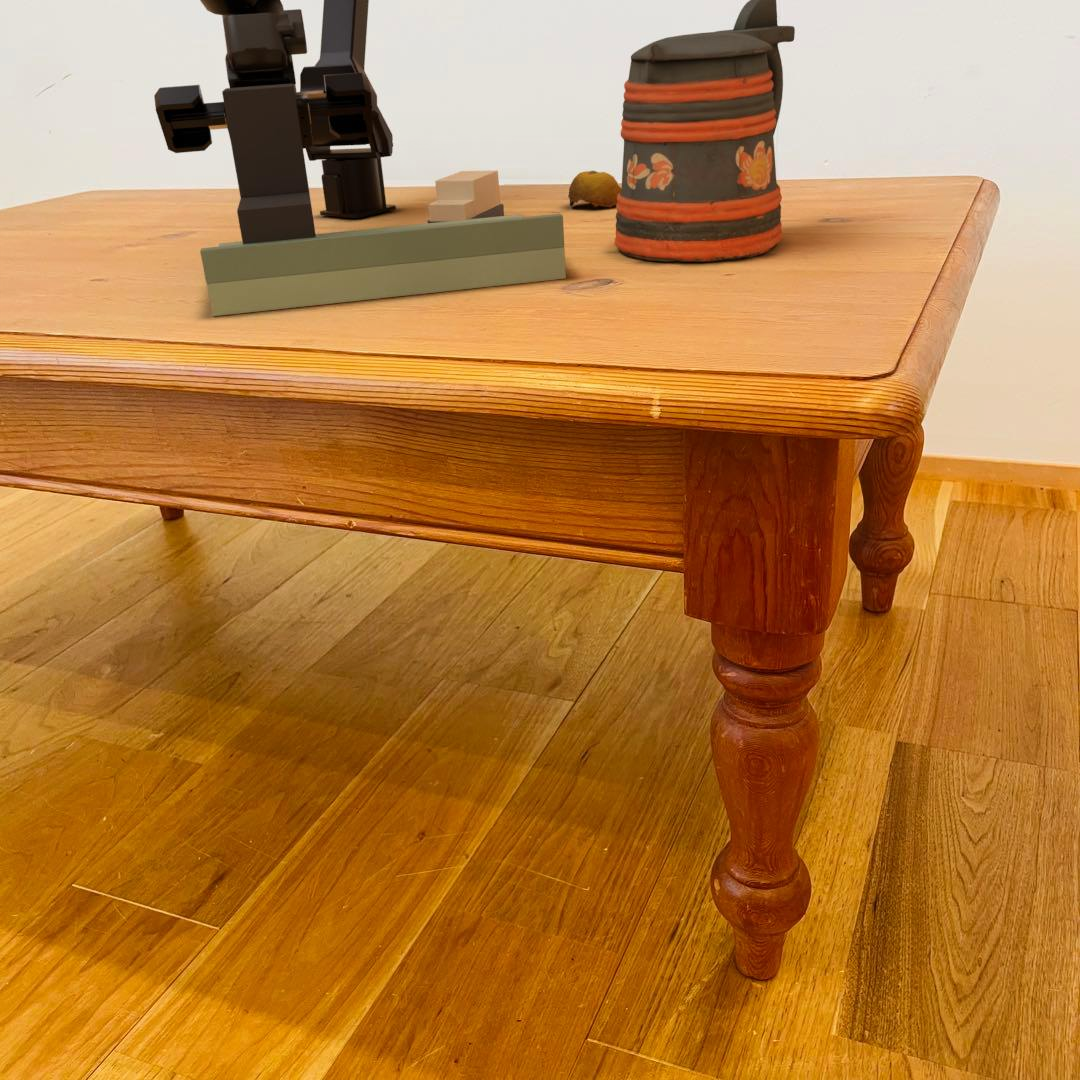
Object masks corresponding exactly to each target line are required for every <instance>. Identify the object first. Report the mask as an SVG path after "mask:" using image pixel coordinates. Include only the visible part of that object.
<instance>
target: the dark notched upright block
mask: <svg viewBox="0 0 1080 1080" xmlns="http://www.w3.org/2000/svg"><path fill="white" fill-rule="evenodd" d="M221 94H222V100H223V102H224V106H225V111H226V117H227V123H228V128H229V132H228V135H229V134H230V136H229V140H230V145H231V151H232V156H233V157H232V158H233V162H234V168H235V174H236V180H237V185H238V186H237V187H238V191H239V197H240V199H239V203H238V206H237V210H236V213H237V220H238V224H239V230H240V235H241V241H242V242H243V244H251V243H261V242H271V241H282V240H292V239H302V238H313V237H316V234H317V233H316V229H315V228H316V227H315V221H314V213H313V207H312V201H311V194H310V187H309V180H308V175H307V166H306V161H305V153H304V149H303V146H302V139H301V132H300V125H299V119H298V112H297V105H296V98H295V91H294V85H293V84H279V85H265V86H252V87H238V88H230V87H226V88H225V89H223V90H222V91H221Z"/></svg>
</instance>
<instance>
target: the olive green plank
mask: <svg viewBox="0 0 1080 1080" xmlns="http://www.w3.org/2000/svg"><path fill="white" fill-rule="evenodd" d="M564 230H565V228H564V215H563V214H562V213H552V214H550V213H549V214H540V215H529V216H523V215H522V214H521V213H520V214H509V215H504V216H499V217H488V218H478V219H468V220H457V221H447V222H437V223H427V222H426V223H418V224H416V223H415V224H408V225H407V224H406V225H398V226H397V225H396V226H387V227H386V226H385V227H377V228H376V227H374V228H365V229H355V230H346V231H345V230H344V231H335V232H333V231H332V232H324V233H323V232H322V233H315V234H316V237H313V238H302V239H292V240H282V241H271V242H261V243H251V244H243V242H242V240H240V241H232V242H231V241H230V242H220V243H219V244H218V246H212V247H211V246H210V247H202V248H200V251H199V253H200V257H201V264H202V268H203V272H204V273H203V274H204V277H205V278H204V279H205V283H206V288H207V293H208V299H209V303H210V304H209V305H210V309H211V314H212V317H219V316H221V317H222V316H229V315H236V314H237V315H238V314H239V315H240V314H247V313H256V312H265V311H266V312H267V311H276V310H285V309H294V308H305V307H313V306H324V305H331V304H340V303H350V302H360V301H369V300H377V299H378V300H379V299H386V298H387V299H388V298H397V297H406V296H416V295H424V294H425V295H426V294H434V293H443V292H452V291H453V292H454V291H460V290H461V291H463V290H470V289H471V290H472V289H480V288H489V287H498V286H506V285H507V286H508V285H518V284H526V283H535V282H536V283H537V282H545V281H555V280H563V279H564V280H566V279H567V273H566V270H567V269H566V252H565V251H566V250H565V231H564Z"/></svg>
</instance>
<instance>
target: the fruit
mask: <svg viewBox="0 0 1080 1080" xmlns="http://www.w3.org/2000/svg"><path fill="white" fill-rule="evenodd" d="M621 188H622V186H621V185H619V184H618V181H617V180H616V179H615V177H614V176H613V175H611V174H610V173H608V172H605V171H601V172H599V171H596V170H588V171H587V170H586V171H581V172H579V173H578V174H577V175H576V176H574V178H573V179H572V181H571V183H570V186H569V189H568V195H567V196H568V200H569V206H570V207H573V206H574V204H579V203H578V202H580V201H583V202H586V203H591V205H592V206H593V207H595V208H597V207H599V206H600V207H603V208H612V207H614V206H616V205H617V202H618V201H617V195H618V194H619V193H620V192H621Z"/></svg>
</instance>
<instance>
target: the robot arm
mask: <svg viewBox="0 0 1080 1080" xmlns="http://www.w3.org/2000/svg"><path fill="white" fill-rule="evenodd" d="M199 1H200V2H201V4H202V5H203V7H204V8H205V9H206V11H207V12H209V13H212V14H214V15H217V16H218V15H219V16H222V17H221V18H222V25H223V32H224V40H225V48H226V55H225V59H224V61H225V68H226V75H227V77H226V78H227V82H228V88H238V87H252V86H265V85H279V84H293V85H294V91H295V98H296V105H297V112H298V119H299V125H300V132H301V139H302V146H303V150H304V149H305V151H306V155H307V158H308V161H310V162H314V161H319V160H320V161H321V167H322V173H323V174H321V183H322V191H323V198H324V206H325V209H324V210H319V215H320V216H324V217H337V218H347V219H348V218H349V219H359V218H360V219H361V218H363V217H369V216H374V215H377V214H380V213H381V214H382V213H386V212H389V211H395V210H397V205H396V204H387V199H386V190H385V182H384V173H383V164H382V158H387V157H393V148H394V142H393V136H394V135H393V133H392V131H391V129H390V127H389V125H388V124H387V121H386V120H385V117H384V116H383V113H382V111H381V109H380V108H379V106H378V94H377V93H376V91H375V89H374V86H373V85H372V83H371V81H370V79H369V77H368V75H367V73H366V71H365V62H366V47H367V35H368V34H367V33H368V20H369V19H368V18H369V2H370V0H323V7H322V20H321V21H322V23H321V24H322V25H321V35H320V36H321V38H320V54H319V59H318V61H317V62H316V63H315V65H314V66H313V65H311V66H304V67H303V68H302V70H301V72H300V75H299V88H300V89H299V91H297V86H296V85H297V82H296V81H297V79H296V73H295V68H294V67H295V66H294V61H293V55H294V56H295V55H307V54H308V46H307V38H306V29H305V23H304V17H303V12H302V9H301V8H298V9H297V8H296V9H284V5H283V3H282V1H281V0H199ZM153 97H154V105H155V112H156V115H157V118H158V121H159V125H160V128H161V131H162V134H163V137H164V141H165V143H166V148H167V150H168V151H171V152H172V153H175V154H182V153H183V154H184V153H194V152H205V151H206V150H207V149H208V148H209V147H210V146H211V145H212V144H213V139H212V138H213V137H212V132H211V131H212V130H224V129H225V130H226V129H227V132H228V137H230V134H229V128H228V123H227V117H226V111H225V106H224V101H218V102H205V101H204V96H203V93H202V89H201V85H200V84H188V85H178V86H177V85H176V86H165V87H164V86H163V87H158V90H157V91H156V92H155V93H154V95H153ZM366 145H369V147H363V148H361V147H359V148H337V149H336V148H335V149H334V148H333V149H332V148H331V147H343V146H346V147H347V146H366Z"/></svg>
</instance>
